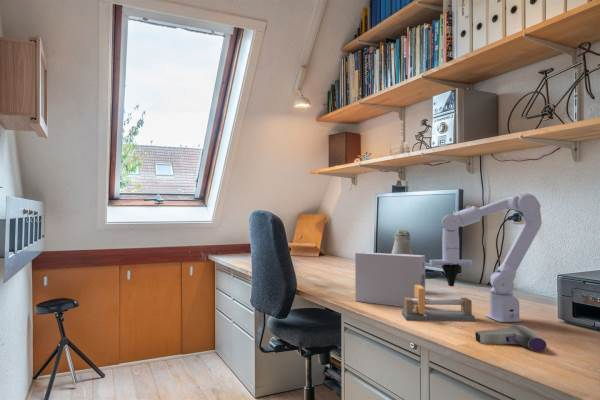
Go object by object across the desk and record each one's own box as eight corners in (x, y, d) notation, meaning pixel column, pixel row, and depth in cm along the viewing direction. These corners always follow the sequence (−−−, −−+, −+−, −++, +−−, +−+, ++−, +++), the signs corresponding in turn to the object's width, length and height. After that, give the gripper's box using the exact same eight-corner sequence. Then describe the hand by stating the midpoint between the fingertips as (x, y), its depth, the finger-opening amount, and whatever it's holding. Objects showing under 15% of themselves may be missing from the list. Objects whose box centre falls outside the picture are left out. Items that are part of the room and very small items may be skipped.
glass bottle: (390, 291, 197) (389, 230, 198) (392, 287, 207) (392, 229, 208) (412, 293, 194) (411, 230, 195) (413, 289, 204) (413, 229, 204)
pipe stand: (466, 315, 154) (466, 296, 154) (474, 321, 146) (474, 301, 146) (401, 314, 155) (401, 295, 155) (406, 320, 147) (406, 300, 147)
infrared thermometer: (474, 343, 126) (525, 339, 126) (493, 357, 114) (549, 353, 114) (473, 327, 126) (524, 323, 126) (492, 340, 114) (548, 336, 114)
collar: (420, 309, 154) (420, 285, 155) (424, 313, 147) (424, 288, 148) (414, 309, 154) (414, 284, 155) (418, 313, 147) (418, 288, 148)
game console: (360, 298, 182) (360, 251, 183) (425, 306, 168) (425, 255, 169) (355, 301, 177) (355, 252, 178) (421, 309, 163) (421, 256, 164)
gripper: (467, 246, 158) (467, 284, 158) (427, 246, 159) (427, 283, 159) (474, 248, 151) (474, 287, 151) (432, 248, 152) (432, 287, 152)
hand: (451, 285), depth 154 cm, fingers closed
